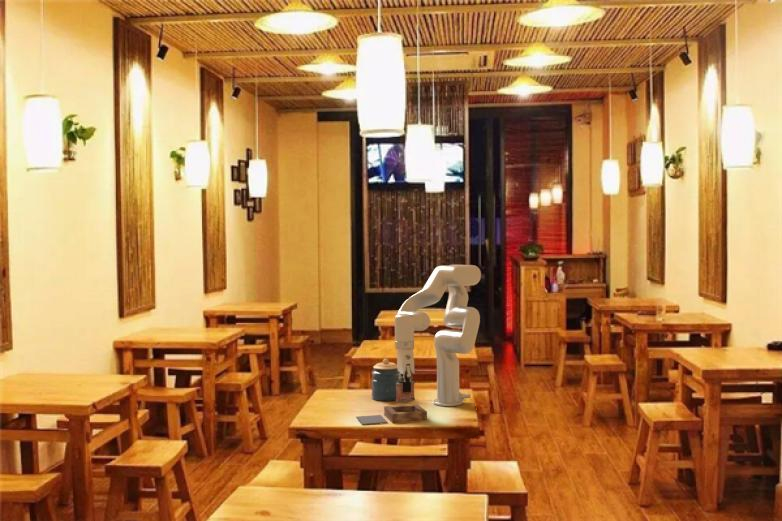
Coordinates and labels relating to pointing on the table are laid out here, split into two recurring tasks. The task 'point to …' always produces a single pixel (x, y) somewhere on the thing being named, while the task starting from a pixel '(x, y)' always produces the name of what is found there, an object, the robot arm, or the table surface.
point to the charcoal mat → (371, 419)
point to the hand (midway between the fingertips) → (405, 390)
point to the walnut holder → (405, 413)
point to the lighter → (404, 395)
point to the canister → (385, 381)
